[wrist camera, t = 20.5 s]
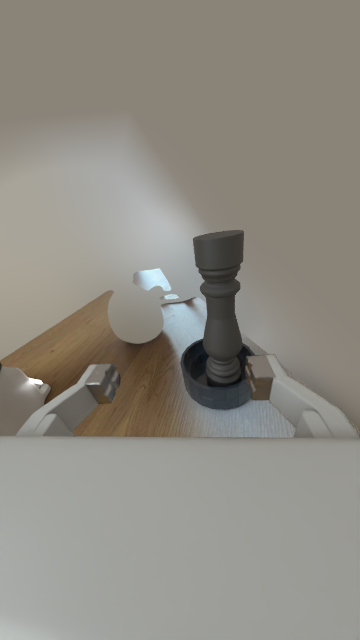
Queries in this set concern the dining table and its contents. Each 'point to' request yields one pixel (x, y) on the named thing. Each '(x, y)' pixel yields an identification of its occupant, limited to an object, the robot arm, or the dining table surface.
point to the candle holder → (220, 303)
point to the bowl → (197, 382)
